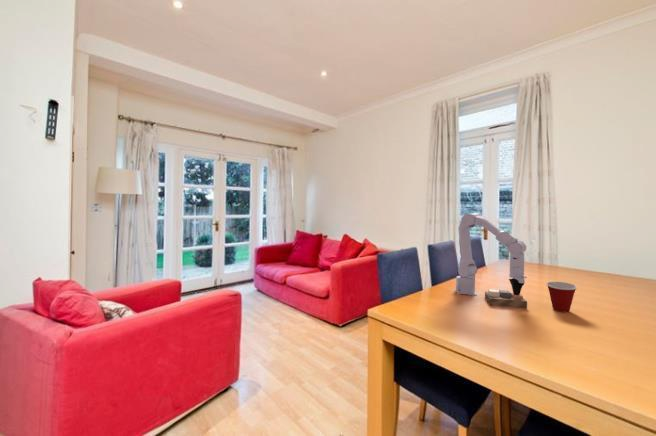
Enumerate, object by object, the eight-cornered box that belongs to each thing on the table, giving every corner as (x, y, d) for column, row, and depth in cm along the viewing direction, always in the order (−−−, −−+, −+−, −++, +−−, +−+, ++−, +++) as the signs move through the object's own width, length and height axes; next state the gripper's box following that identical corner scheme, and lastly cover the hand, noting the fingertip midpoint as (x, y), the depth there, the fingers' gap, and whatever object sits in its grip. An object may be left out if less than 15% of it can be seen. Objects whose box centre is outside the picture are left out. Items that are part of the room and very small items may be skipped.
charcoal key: (501, 298, 133) (501, 292, 133) (499, 296, 137) (499, 290, 137) (510, 299, 132) (511, 293, 131) (508, 297, 135) (508, 290, 135)
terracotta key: (512, 301, 131) (512, 295, 131) (510, 299, 135) (510, 292, 135) (522, 302, 130) (522, 296, 130) (519, 300, 134) (519, 293, 134)
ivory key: (490, 297, 134) (490, 291, 134) (488, 295, 138) (488, 289, 138) (499, 298, 133) (499, 292, 133) (497, 296, 137) (497, 289, 137)
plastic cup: (541, 308, 127) (541, 283, 126) (551, 304, 132) (551, 280, 132) (571, 316, 117) (571, 288, 117) (580, 311, 123) (581, 285, 123)
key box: (490, 305, 131) (490, 298, 131) (485, 298, 142) (485, 291, 142) (527, 309, 127) (527, 301, 126) (518, 301, 137) (519, 294, 137)
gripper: (532, 270, 124) (532, 299, 124) (521, 264, 138) (520, 290, 138) (514, 269, 126) (513, 298, 127) (505, 263, 140) (504, 289, 140)
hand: (516, 294), depth 132 cm, fingers closed, pressing on terracotta key
